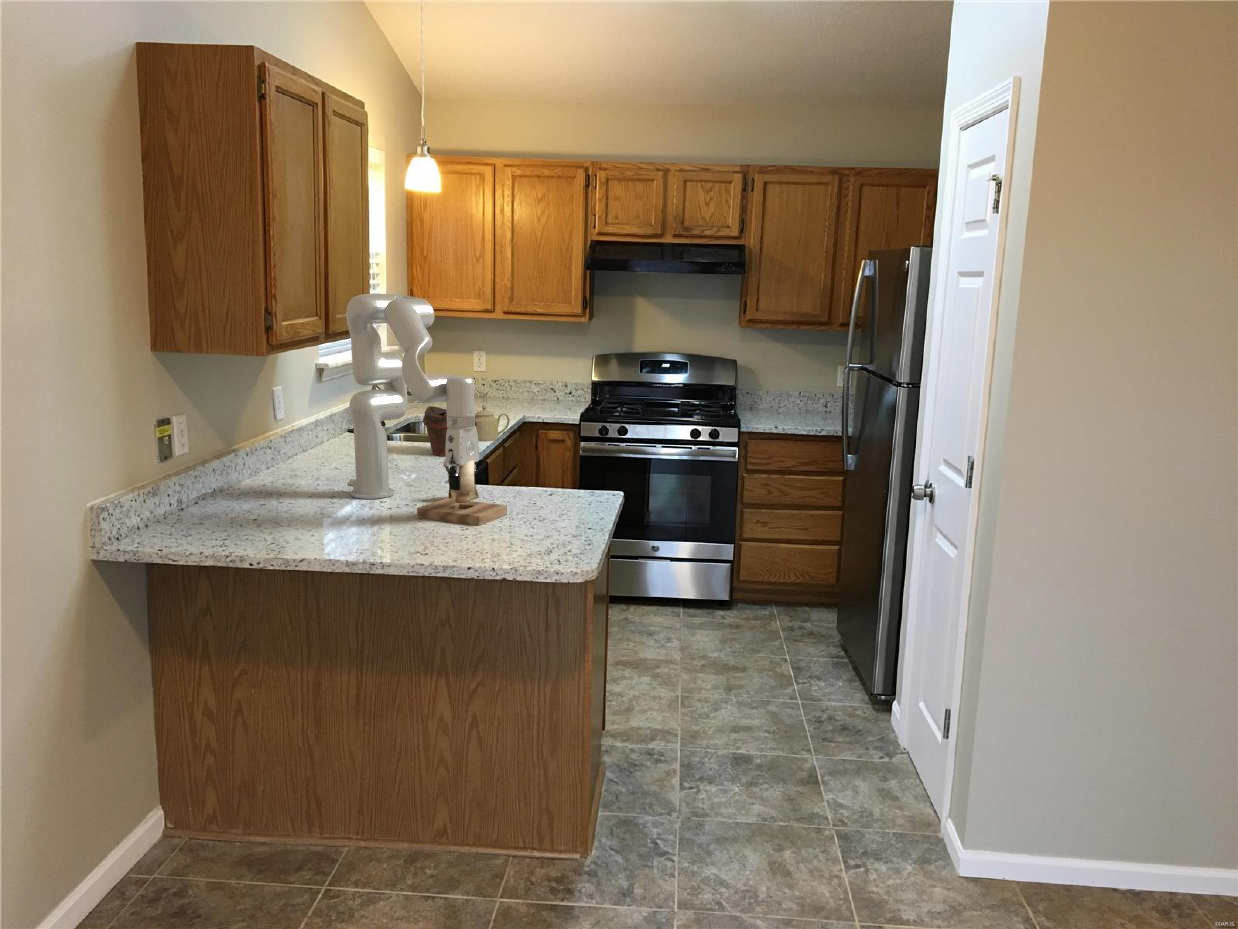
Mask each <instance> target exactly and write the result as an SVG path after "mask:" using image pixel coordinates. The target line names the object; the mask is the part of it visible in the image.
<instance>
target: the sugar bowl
mask: <svg viewBox="0 0 1238 929" xmlns="http://www.w3.org/2000/svg"><path fill="white" fill-rule="evenodd" d="M487 407H488V406H487V405H486V404H485V403H483V404H482V405H481V410H478V411H476V412H475V420H476V423H477V425H476V429H477V434H478V442H493V441H498V439H499V436H500V435H501V434H503V433H504V432H505V431H506V430H507V429H508V428H509V425H510V422H511V420H510V416H509V414H507V413H506V412H501V413H500V414H499V415H498V417H497V418H496V417H495V413H494V412H493V411H491V410H488V409H487ZM502 416H506V418H507V419H506V420H507V422H506V425H505V426H504V428H503V429H502V430H500V431H499V424H500V419H501V417H502Z"/></svg>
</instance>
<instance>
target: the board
mask: <svg viewBox="0 0 1238 929" xmlns="http://www.w3.org/2000/svg"><path fill="white" fill-rule="evenodd" d="M416 513H417V514H416V517H417V518H420V519H428V520H434V521H442V522H450V523H459V524H464V525H465V524H466V525H470V526H471V525H472V526H482V525H485V524H487V523H489V522H492V521H494V520H497V519H500V518H502V517H505V516H508V505H507V504H505V505H504V504H497V503H488V502H481V501H473V500H470V502H469V503H456V499H449V497H446V498H444V499H443V498H442V499H441V500H438V501H434V502H430V503H428V504H425V505H423V506H420V507H417V508H416Z"/></svg>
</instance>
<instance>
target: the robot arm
mask: <svg viewBox="0 0 1238 929" xmlns="http://www.w3.org/2000/svg"><path fill="white" fill-rule="evenodd" d="M345 310H346V312H345V317H346V318H345V319H346V324H347V328H348V332H349V336H350V344H351V347H350V348H351V349H350V350H351V363H352V364H351V365H352V374H353V378H354V381H355V382H356V384H358V385H361V386H378V385H379V386H380V385H381V386H382V385H383V388H380V389H379V388H377V389H367V390H366V389H365V390H361V391H357V392H356V393H354V394H353V395H352V396H351V398H350V400H349V405H348V406H349V408H348V409H349V413H350V417H351V421H352V428H353V439H354V440H353V441H354V442H353V444H354V458H355V459H354V463H355V464H354V465H355V466H354V467H355V478H350V479H349V481H347V483H346V486H348V487H353V489H352V491H351V492H350V496H351V497H353V498H355V499H362V500H363V499H364V500H371V499H372V500H375V499H383V498H388V497H392V496H393V495H394V494H395V489H393V488H391V487H390V483H389V482H390V481H389V479H390V478H389V453H388V452H389V450H388V435H387V433H386V431H385V429H384V427H383V426H382V425H381V422H385V421H393V420H398V419H401V418H403V417H404V416H405V415H406V413H407V410H408V390H409V392H410V394H411V395H412V397H413V398H414V399H415V400H416V401H417V402H419V403H421V404H432V403H443V402H446V404H445V405H446V410H447V428H448V429H447V433H446V449H445V451H446V457H445V459H444V461H443V463H442V465H443V467H444V468H445V471H446V472H447V475H449V481H448V487H449V488H448V490H449V489H450V490H460V476H459V470H460V466H464V465H466V464H467V462H470V461H473V460H474V485H475V486H476V471H477V465H478V461H479V460H480V444H479V443H480V441H478V434H477V429H476V426H475V413H476V410H475V409H476V408H475V407H476V404H475V402H476V400H475V380H474V379H473V377H471V376H465V375H464V376H463V375H462V376H461V375H456V374H453V373H442V374H441V373H439V374H426V375H425V373H424V372H423V370H422V369H421V366H420V364H419V361H418V359H419V358H420V357H423V355H426V353H428V351H429V350H431V348H432V345H433V338H432V337H431V335H430V333H429V331H428V329H427V328H429V327H431V326H432V325H433V324H434V321H435V317H436V316H435V311H434V307H433V306H432V305H431V303H430V302H429V301H427V300H426V299H424V298H419V297H415V296H411V295H405V294H401V293H400V294H399V293H398V294H397V293H364V294H358V295H356V296H354V297H352V298H351V299H350V300H349V302H348V304H347V307H346V309H345ZM374 324H387V325H388V326H389V327H390V329H391V331H392V333H393V335H394V337H395V338H396V340H397V342H398V344H399V345H400V348H401V349H402V351H403V356H402V357H401V356H400V355H399V354H397V353H395V352H391V351H388V352H387V351H386V352H385V351H384V352H383V351H382V339H381V336H380V333H379V332H378V330H377V329H376V327H375V326H374ZM452 462H456V464H452ZM453 466H454V467H456V469H454V468H453Z"/></svg>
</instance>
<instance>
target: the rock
mask: <svg viewBox="0 0 1238 929" xmlns="http://www.w3.org/2000/svg"><path fill="white" fill-rule="evenodd" d="M447 475H448V474H447ZM447 477H448V479H447V480H448V482H449V475H448V476H447ZM447 496H448V497H447V498H449V499H456V493H452V492H451V490H450V489H449V488H448V495H447ZM477 498H480V493H479V491H478V489H477V487H476V484H475V485H474V492H471V493H470V501H472V500H473V499H477Z"/></svg>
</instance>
